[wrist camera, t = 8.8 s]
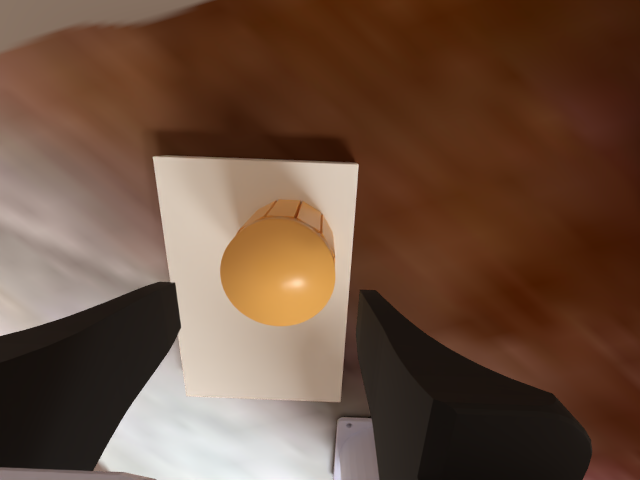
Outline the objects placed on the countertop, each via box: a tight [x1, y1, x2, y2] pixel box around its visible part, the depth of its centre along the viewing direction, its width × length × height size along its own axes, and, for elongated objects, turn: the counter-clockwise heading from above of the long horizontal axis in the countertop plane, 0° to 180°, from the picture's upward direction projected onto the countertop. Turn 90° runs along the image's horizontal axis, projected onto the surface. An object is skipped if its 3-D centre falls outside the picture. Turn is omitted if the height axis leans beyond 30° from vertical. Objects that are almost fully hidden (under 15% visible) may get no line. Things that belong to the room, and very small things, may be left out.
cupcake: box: [220, 199, 335, 326], centre depth 16 cm, size 6×6×5 cm
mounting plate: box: [153, 155, 359, 402], centre depth 19 cm, size 12×18×5 cm, turn 178°
